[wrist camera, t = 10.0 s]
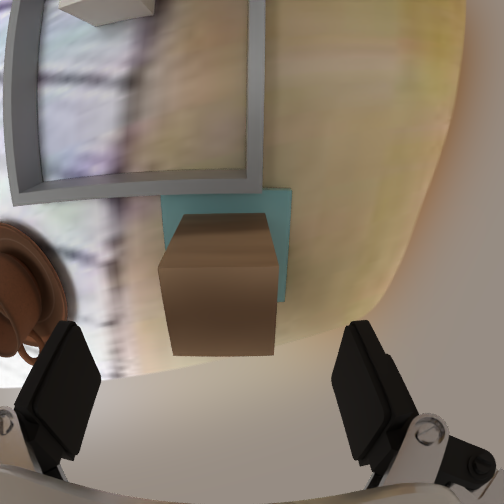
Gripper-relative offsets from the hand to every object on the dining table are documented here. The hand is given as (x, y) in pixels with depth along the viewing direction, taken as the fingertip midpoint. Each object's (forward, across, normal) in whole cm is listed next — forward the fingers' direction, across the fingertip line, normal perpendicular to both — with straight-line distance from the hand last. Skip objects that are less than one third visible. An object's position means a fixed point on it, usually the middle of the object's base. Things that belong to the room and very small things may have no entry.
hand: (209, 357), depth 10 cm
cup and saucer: (+12, +18, +4) cm, 22 cm away
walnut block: (+10, 0, +1) cm, 11 cm away
